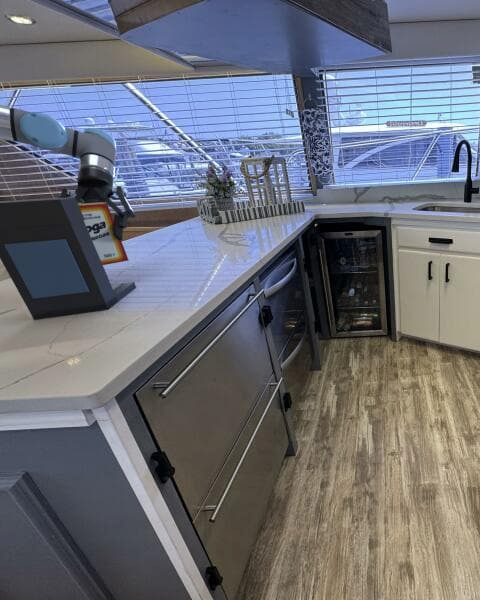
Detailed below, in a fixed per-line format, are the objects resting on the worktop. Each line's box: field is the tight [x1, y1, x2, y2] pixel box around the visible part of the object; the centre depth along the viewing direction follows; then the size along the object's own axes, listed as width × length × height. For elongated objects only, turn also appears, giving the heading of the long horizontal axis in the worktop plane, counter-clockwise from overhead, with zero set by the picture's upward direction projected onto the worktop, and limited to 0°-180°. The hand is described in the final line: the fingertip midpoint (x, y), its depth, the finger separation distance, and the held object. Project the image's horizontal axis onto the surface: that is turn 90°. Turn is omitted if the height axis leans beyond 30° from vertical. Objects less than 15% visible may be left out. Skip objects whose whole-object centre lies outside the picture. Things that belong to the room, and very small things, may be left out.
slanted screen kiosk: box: [0, 197, 137, 321], centre depth 76 cm, size 14×16×25 cm
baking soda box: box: [78, 202, 129, 266], centre depth 87 cm, size 10×6×16 cm
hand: (90, 240), depth 85 cm, fingers closed on baking soda box, 11 cm apart
